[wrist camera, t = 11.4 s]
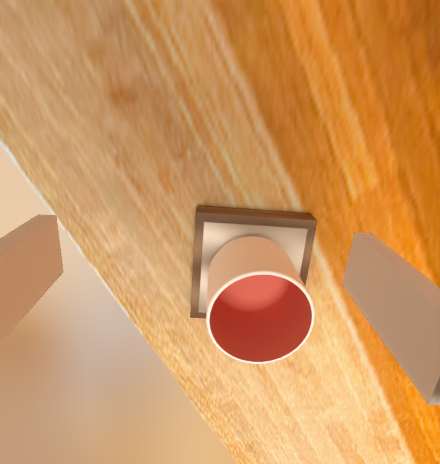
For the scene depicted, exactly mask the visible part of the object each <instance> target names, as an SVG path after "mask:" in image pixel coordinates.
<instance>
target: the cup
mask: <svg viewBox="0 0 440 464" xmlns="http://www.w3.org/2000/svg"><path fill="white" fill-rule="evenodd" d="M314 319H315V310H314V305H313V302H312V299H311V297H310V295H309V293H308V291H307V289H306V287H305V286H304V284H303V282H302V280H301V278H300V276H299V274H298V272H297V271H296V269H295V267H294V265H293V263H292V261H291V259H290V258H289V256H288V254H287V253H286V252H285V251H284V249H283V248H282V247H280V246H279V245H278V244H276V243H275V242H273V241H271V240H269V239H266V238H262V237H256V236H248V237H242V238H238V239H235V240H233V241H231V242H229V243H227V244H226V245H224V246H223V247H222V248H221V249H220V250H219V251H218V252H217V253H216V255H215V256H214V258H213V259H212V261H211V264H210V267H209V271H208V287H207V311H206V324H207V329H208V332H209V335H210V337H211V339H212V341H213V342H214V344H215V345H216V346H217V347H218V348H219V349H220V350H221V351H222V352H223V353H225V354H226V355H228V356H229V357H231V358H233V359H236V360H239V361H242V362H246V363H254V364H262V363H270V362H274V361H277V360H280V359H283V358H285V357H287V356H289V355H291V354H292V353H294V352H295V351H296V350H297V349H299V348H300V347H301V346H302V345H303V344H304V342H305V341H306V340H307V338H308V337H309V335H310V333H311V331H312V328H313V325H314Z"/></svg>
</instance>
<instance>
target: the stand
mask: <svg viewBox="0 0 440 464" xmlns="http://www.w3.org/2000/svg"><path fill="white" fill-rule="evenodd" d="M316 224H317V220H316V219H315V218H314V217H313V216H312V215H311V214H310V213H296V212H282V211H268V210H253V209H239V208H224V207H210V206H197V209H196V220H195V239H194V258H193V277H192V295H191V314H190V317H191V318H206V311H207V287H208V271H209V267H210V264H211V261H212V259H213V258H214V256H215V255H216V253H217V252H218V251H219V250H220V249H221V248H222V247H223V246H224V245H226V244H227V243H229V242H231V241H233V240H235V239H238V238H242V237H248V236H256V237H262V238H266V239H269V240H271V241H273V242H275V243H276V244H278V245H279V246H280V247H282V248H283V249H284V251H285V252H286V253H287V254H288V256H289V258H290V259H291V261H292V263H293V265H294V267H295V269H296V271H297V272H298V274H299V276H300V278H301V280H302V282H303V284H304V286H305V284H306V279H307V273H308V268H309V262H310V257H311V251H312V246H313V241H314V235H315V230H316Z"/></svg>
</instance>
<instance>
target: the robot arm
mask: <svg viewBox="0 0 440 464" xmlns="http://www.w3.org/2000/svg"><path fill="white" fill-rule="evenodd" d="M62 273H63V266H62V257H61V249H60V241H59V233H58V225H57V217H56V216H55V215H37V216H35V217H34V218H32V219H30V220H29V221H27V222H26V223H24V224H22V225H21V226H19V227H18V228H16V229H15V230H13V231H11V232H10V233H8V234H7V235H5V236H4V237H2V238H0V343H1V342H2V341H3V340H4V339H5V338H6V336H7V335H8V334H9V333H10V332H11V331H12V329H14V327H15V326H16V325H17V324H18V323H19V321H21V320H22V318H23V317H24V316H25V315H26V314H27V313H28V312H29V310H30V309H31V308H32V307H33V306H34V305H35V304H36V302H37V301H38V300H39V299H40V298H41V297H42V296H43V295H44V294H45V292H46V291H47V290H48V289H49V288H50V287H51V285H52V284H53V283H54V282H55V281H56V280H57V279H58V278H59V276H60V275H61V274H62ZM342 286H343V287H344V289H345V290H346V291H347V293H348V294H349V296H350V297H351V298H352V300H353V301H354V302H355V304H356V305H357V307H358V308H359V309H360V311H361V312H362V314H363V315H364V316H365V318H366V319H367V320H368V322H369V323H370V325H371V326H372V327H373V329H374V330H375V332H376V333H377V334H378V336H379V337H380V338H381V340H382V341H383V343H384V344H385V345H386V347H387V348H388V350H389V351H390V352H391V354H392V355H393V356H394V358H395V359H396V361H397V362H398V363H399V365H400V366H401V368H402V369H403V370H404V372H405V373H406V374H407V376H408V377H409V379H410V380H411V381H412V383H413V384H414V386H415V387H416V388H417V390H418V391H419V392H420V394H421V395H422V397H423V398H424V399H425V401H426V402H427V404H428V405H440V287H438V286H437V285H436V284H434V283H433V282H432V281H431V280H429V279H428V278H427V277H426V276H424V275H423V274H422V273H421V272H419V271H418V270H417V269H416V268H414V267H413V266H412V265H411V264H409V263H408V262H407V261H406V260H404V259H403V258H402V257H401V256H399V255H398V254H397V253H396V252H394V251H393V250H392V249H391V248H389V247H388V246H387V245H386V244H385V243H383V242H382V241H381V240H380V239H378V238H377V237H376V236H375V235H373V234H372V233H365V232H354V237H353V241H352V245H351V249H350V254H349V258H348V262H347V266H346V271H345V275H344V279H343V283H342Z"/></svg>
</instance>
